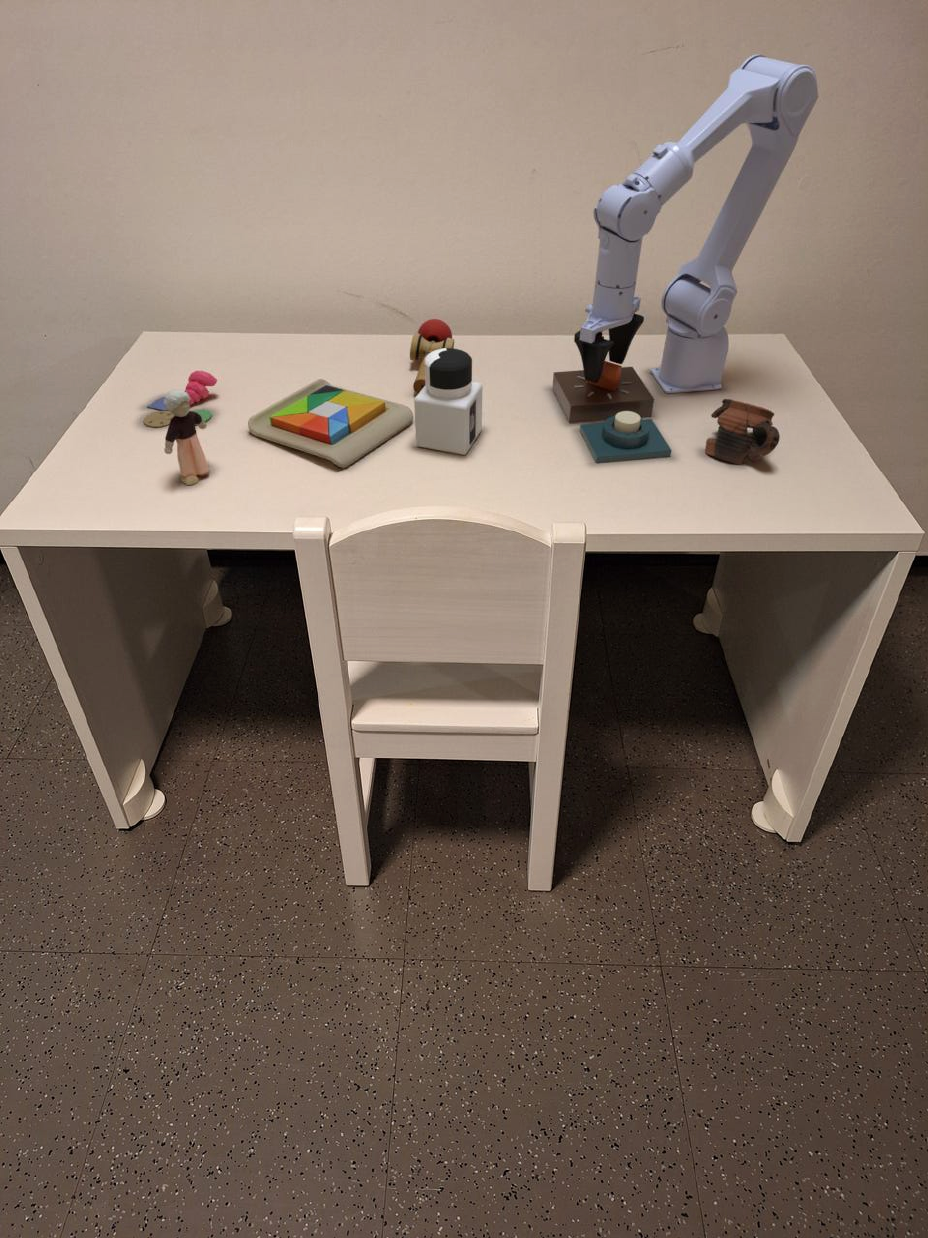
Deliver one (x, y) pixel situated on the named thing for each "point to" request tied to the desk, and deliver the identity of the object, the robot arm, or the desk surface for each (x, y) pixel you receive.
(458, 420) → the container
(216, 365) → the desk surface
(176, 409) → the grandmother figurine
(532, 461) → the desk surface
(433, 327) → the kendama
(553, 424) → the desk surface
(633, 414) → the button
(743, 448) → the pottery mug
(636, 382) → the dial board
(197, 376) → the toy pieces
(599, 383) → the dial knob
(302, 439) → the wooden puzzle
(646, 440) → the button block
